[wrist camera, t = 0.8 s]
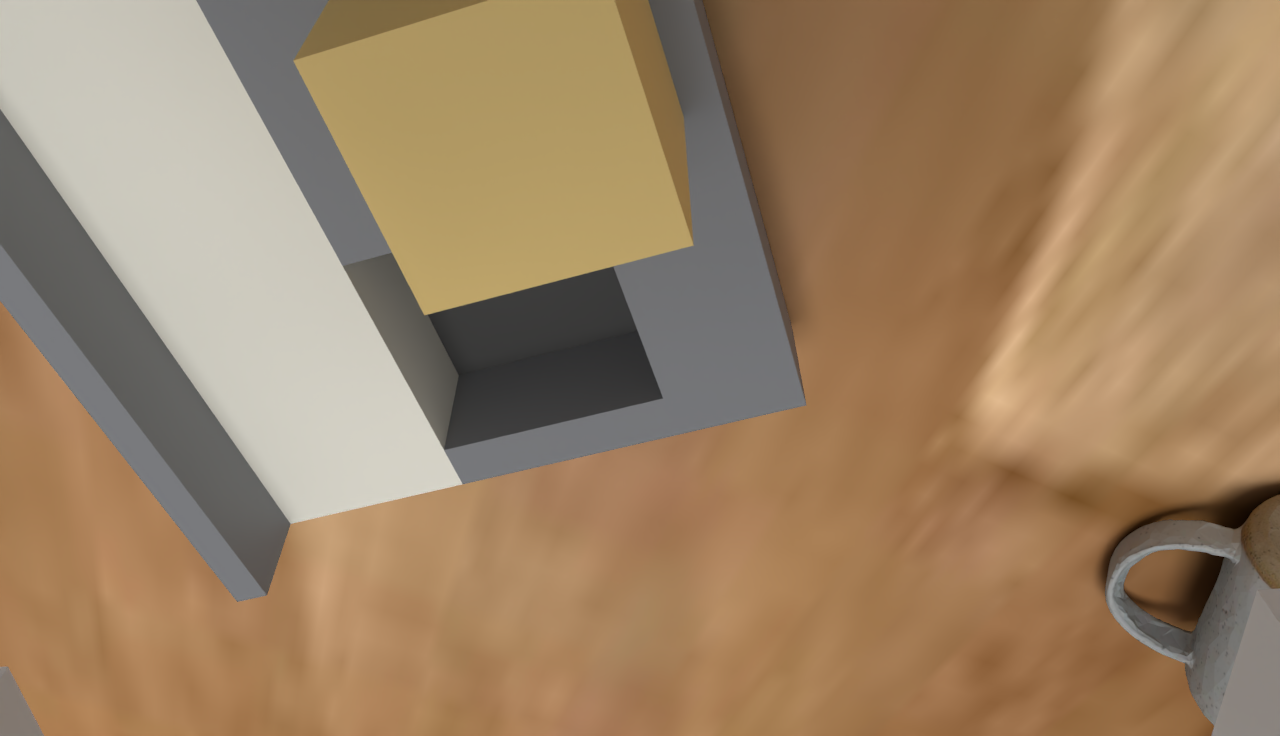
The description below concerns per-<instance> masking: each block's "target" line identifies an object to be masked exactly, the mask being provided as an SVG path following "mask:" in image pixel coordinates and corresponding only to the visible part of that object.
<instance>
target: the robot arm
mask: <svg viewBox="0 0 1280 736" xmlns="http://www.w3.org/2000/svg"><path fill="white" fill-rule="evenodd" d="M0 736H44V735H43V733H42V731H41V729H40V727H39V725H38V723H37V722H36V720H35V718H34V716H33V714H32V712H31V710H30V708H29V706H28V704H27V702H26V700H25V699H24V697H23V695H22V693H21V691H20V689H19V687H18V685H17V683H16V681H15V679H14V678H13V676H12V674H11V672H10V670H9V668H8V667H0ZM1212 736H1280V589H1264V590H1257V592H1256V595H1255V598H1254V602H1253V605H1252V608H1251V611H1250V614H1249V618H1248V621H1247V624H1246V627H1245V630H1244V633H1243V637H1242V640H1241V643H1240V646H1239V649H1238V653H1237V656H1236V659H1235V662H1234V665H1233V669H1232V672H1231V675H1230V678H1229V681H1228V685H1227V688H1226V691H1225V694H1224V697H1223V701H1222V704H1221V707H1220V710H1219V713H1218V716H1217V720H1216V723H1215V726H1214V729H1213V732H1212Z"/></svg>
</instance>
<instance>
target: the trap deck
mask: <svg viewBox="0 0 1280 736" xmlns="http://www.w3.org/2000/svg"><path fill="white" fill-rule="evenodd" d="M328 1H329V0H0V301H1V302H2V304H3V305H4V306H5V307H6V309H7V310H8V311H9V312H10V314H11V315H12V316H13V318H14V319H15V320H16V321H17V323H18V324H19V325H20V326H21V328H22V329H23V330H24V332H25V333H26V334H27V335H28V337H29V338H30V339H31V340H32V342H33V343H34V344H35V345H36V347H37V348H38V349H39V351H40V352H41V353H42V354H43V356H44V357H45V358H46V359H47V361H48V362H49V363H50V365H51V366H52V367H53V368H54V370H55V371H56V372H57V373H58V375H59V376H60V377H61V378H62V380H63V381H64V382H65V384H66V385H67V386H68V387H69V389H70V390H71V391H72V392H73V394H74V395H75V396H76V398H77V399H78V400H79V401H80V403H81V404H82V405H83V406H84V408H85V409H86V410H87V412H88V413H89V414H90V415H91V417H92V418H93V419H94V420H95V422H96V423H97V424H98V425H99V427H100V428H101V429H102V431H103V432H104V433H105V434H106V436H107V437H108V438H109V439H110V441H111V442H112V443H113V445H114V446H115V447H116V448H117V450H118V451H119V452H120V453H121V455H122V456H123V457H124V458H125V460H126V461H127V462H128V464H129V465H130V466H131V467H132V469H133V470H134V471H135V472H136V474H137V475H138V476H139V478H140V479H141V480H142V481H143V483H144V484H145V485H146V486H147V488H148V489H149V490H150V491H151V493H152V494H153V495H154V497H155V498H156V499H157V500H158V502H159V503H160V504H161V505H162V507H163V508H164V509H165V511H166V512H167V513H168V514H169V516H170V517H171V518H172V519H173V521H174V522H175V523H176V525H177V526H178V527H179V528H180V530H181V531H182V532H183V533H184V535H185V536H186V537H187V538H188V540H189V541H190V542H191V544H192V545H193V546H194V547H195V549H196V550H197V551H198V552H199V554H200V555H201V556H202V558H203V559H204V560H205V561H206V563H207V564H208V565H209V566H210V568H211V569H212V570H213V571H214V573H215V574H216V575H217V577H218V578H219V579H220V580H221V582H222V583H223V584H224V585H225V587H226V588H227V589H228V591H229V592H230V593H231V594H232V596H233V597H234V598H235V599H236V601H237V602H238V601H243V600H248V599H252V598H257V597H261V596H266V595H267V593H268V590H269V587H270V584H271V581H272V578H273V575H274V572H275V569H276V566H277V563H278V560H279V557H280V554H281V551H282V548H283V545H284V542H285V539H286V536H287V533H288V530H289V527H290V524H292V523H296V522H300V521H305V520H309V519H313V518H318V517H322V516H327V515H331V514H335V513H340V512H344V511H348V510H353V509H357V508H361V507H366V506H370V505H374V504H379V503H383V502H387V501H392V500H396V499H400V498H405V497H409V496H414V495H418V494H422V493H427V492H431V491H435V490H440V489H444V488H448V487H453V486H457V485H461V484H466V483H470V482H474V481H479V480H483V479H487V478H492V477H496V476H500V475H505V474H509V473H514V472H518V471H522V470H527V469H531V468H535V467H540V466H544V465H548V464H553V463H557V462H561V461H566V460H570V459H574V458H579V457H583V456H587V455H592V454H596V453H600V452H605V451H609V450H614V449H618V448H622V447H627V446H631V445H635V444H640V443H644V442H648V441H653V440H657V439H661V438H666V437H670V436H674V435H679V434H683V433H687V432H692V431H696V430H701V429H705V428H709V427H714V426H718V425H722V424H727V423H731V422H735V421H740V420H744V419H748V418H753V417H757V416H761V415H766V414H770V413H774V412H779V411H783V410H787V409H792V408H796V407H801V406H805V405H806V401H805V395H804V390H803V384H802V379H801V374H800V368H799V363H798V357H797V352H796V347H795V341H794V336H793V331H792V326H791V322H790V318H789V315H788V311H787V307H786V304H785V300H784V296H783V293H782V289H781V285H780V282H779V278H778V274H777V271H776V267H775V264H774V260H773V256H772V253H771V249H770V245H769V242H768V238H767V234H766V231H765V227H764V223H763V220H762V216H761V212H760V209H759V205H758V201H757V198H756V194H755V191H754V187H753V183H752V180H751V176H750V172H749V169H748V165H747V161H746V158H745V154H744V150H743V147H742V143H741V139H740V136H739V132H738V128H737V125H736V121H735V118H734V114H733V110H732V107H731V103H730V99H729V96H728V92H727V88H726V85H725V81H724V77H723V74H722V70H721V66H720V63H719V59H718V55H717V52H716V48H715V45H714V41H713V37H712V34H711V30H710V26H709V23H708V19H707V15H706V12H705V8H704V4H703V1H702V0H648V1H649V4H650V8H651V11H652V14H653V17H654V21H655V24H656V27H657V31H658V34H659V37H660V41H661V44H662V47H663V50H664V54H665V57H666V60H667V64H668V67H669V70H670V73H671V77H672V80H673V83H674V87H675V90H676V93H677V97H678V100H679V103H680V106H681V110H682V113H683V116H684V127H685V140H686V153H687V166H688V179H689V192H690V205H691V218H692V231H693V244H694V246H690V247H686V248H682V249H678V250H674V251H671V252H667V253H663V254H659V255H655V256H651V257H647V258H644V259H640V260H636V261H632V262H628V263H624V264H620V265H617V266H613V267H609V268H605V269H601V270H597V271H594V272H590V273H586V274H582V275H578V276H574V277H570V278H567V279H563V280H559V281H555V282H551V283H547V284H543V285H540V286H536V287H532V288H528V289H524V290H520V291H516V292H513V293H509V294H505V295H501V296H497V297H493V298H490V299H486V300H482V301H478V302H474V303H470V304H466V305H463V306H459V307H455V308H451V309H447V310H443V311H439V312H436V313H432V314H428V315H424V314H423V312H422V310H421V308H420V306H419V304H418V302H417V300H416V298H415V296H414V294H413V292H412V290H411V288H410V286H409V285H408V283H407V281H406V279H405V277H404V275H403V273H402V271H401V269H400V267H399V265H398V263H397V261H396V259H395V257H394V255H393V253H392V252H391V250H390V248H389V246H388V244H387V242H386V240H385V238H384V236H383V234H382V232H381V230H380V228H379V226H378V224H377V222H376V220H375V219H374V217H373V215H372V213H371V211H370V209H369V207H368V205H367V203H366V201H365V199H364V197H363V195H362V193H361V191H360V189H359V187H358V185H357V184H356V182H355V180H354V178H353V176H352V174H351V172H350V170H349V168H348V166H347V164H346V162H345V160H344V158H343V156H342V154H341V152H340V151H339V149H338V147H337V145H336V143H335V141H334V139H333V137H332V135H331V133H330V131H329V129H328V127H327V125H326V123H325V121H324V119H323V118H322V116H321V114H320V112H319V110H318V108H317V106H316V104H315V102H314V100H313V98H312V96H311V94H310V92H309V90H308V88H307V86H306V84H305V83H304V81H303V79H302V77H301V75H300V73H299V71H298V69H297V67H296V65H295V63H294V61H293V60H294V59H295V57H296V55H297V53H298V52H299V50H300V48H301V47H302V45H303V43H304V42H305V40H306V38H307V37H308V35H309V33H310V31H311V30H312V28H313V26H314V25H315V23H316V21H317V20H318V18H319V16H320V14H321V13H322V11H323V9H324V8H325V6H326V4H327V3H328Z"/></svg>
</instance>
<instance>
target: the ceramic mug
mask: <svg viewBox="0 0 1280 736" xmlns="http://www.w3.org/2000/svg"><path fill="white" fill-rule="evenodd" d="M1173 549H1182V550H1188V551H1198V552H1206V553H1209V554H1211V555H1216V556H1222V557H1225V558H1224V560H1223V563H1222V567H1221V571H1220V574H1219V576H1218V579H1217V581H1216V584H1215V586H1214V588H1213V590H1212V592H1211V594H1210V597H1209V598H1208V601H1207V603H1206V604H1205V607H1204V609H1203V611H1202V614H1201V616H1200V618H1199V619H1198V623H1197V625H1196V628H1195V630H1194V631H1192V632H1190V631H1186V630H1182V629H1180V628H1177V627H1175V626H1172V625H1170V624H1169V623H1166V622H1163V621H1161V620H1160V619H1157V618H1155V617H1153V616H1152V615H1150V614H1148V613H1147V612H1145V611H1144V610H1142V609H1141V608H1139V607H1138V606H1137V605H1136V604H1135V603H1134V602H1133V601H1132V600H1131V599H1130V598H1129V597H1128V595H1127V594H1126V593H1125V591H1124V581H1125V578H1126V575H1127V573H1128V571H1129V569H1130V567H1131V566H1133V565H1134V564H1136V563H1137V562H1138V561H1140V560H1141V559H1142V558H1144V557H1145V556H1146V555H1149V554H1150V553H1152V552H1156V551H1159V550H1173ZM1264 589H1280V495H1276V496H1274V497H1272V498H1270V499H1268V500H1266V501H1264V502H1263V503H1262V504H1260V505H1259V506H1258V507H1256V508H1255V509H1254V510H1253V511H1252V513H1251V514H1250V516H1249V517H1248V519H1247V520H1246V522H1245V523H1244V524H1243V525H1242V526H1241V527H1239V528H1237V529H1232V528H1228V527H1224V526H1221V525H1218V524H1214V523H1210V522H1206V521H1202V520H1190V521H1187V520H1171V519H1170V520H1163V521H1158V522H1154V523H1151V524H1149V525H1144V526H1142V527H1140V528H1138V529H1137V530H1135V531H1133V532H1132V533H1130V534H1129V535H1128V536H1126V537H1125V538H1124V539H1123V540H1122V541H1121V542H1120V543H1119V544H1118V546H1117V547H1116V549H1115V551H1114V553H1113V555H1112V557H1111V559H1110V563H1109V569H1108V575H1107V581H1106V588H1105V596H1106V602H1107V605H1108V607H1109V610H1110V612H1111V613H1112V615H1113V616H1114V618H1115V619H1116V620H1117V621H1118V623H1119V624H1120V625H1121V626H1122V627H1123V628H1124V629H1125V630H1126V631H1127V632H1128V633H1130V634H1131V635H1132V636H1133V637H1135V638H1136V639H1137V640H1138V641H1140V642H1142V643H1143V644H1145V645H1147V646H1148V647H1150V648H1152V649H1153V650H1155V651H1157V652H1159V653H1161V654H1163V655H1165V656H1168V657H1170V658H1173V659H1175V660H1178V661H1180V662H1183V663H1185V671H1186V676H1187V680H1188V684H1189V688H1190V691H1191V694H1192V696H1193V698H1194V699H1195V701H1196V703H1197V704H1198V706H1199V708H1200V709H1201V711H1202V712H1203V714H1204V715H1205V716H1206V717H1207V718H1208V720H1209V721H1210V722H1211V723H1212V724H1213V725H1214V726H1215V723H1216V720H1217V716H1218V713H1219V710H1220V707H1221V704H1222V701H1223V697H1224V694H1225V691H1226V688H1227V685H1228V681H1229V678H1230V675H1231V672H1232V669H1233V665H1234V662H1235V659H1236V656H1237V653H1238V649H1239V646H1240V643H1241V640H1242V637H1243V633H1244V630H1245V627H1246V624H1247V621H1248V618H1249V614H1250V611H1251V608H1252V605H1253V602H1254V598H1255V595H1256V592H1257V590H1264Z"/></svg>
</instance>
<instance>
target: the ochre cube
mask: <svg viewBox="0 0 1280 736" xmlns="http://www.w3.org/2000/svg"><path fill="white" fill-rule="evenodd" d="M293 61H294V63H295V65H296V67H297V69H298V71H299V73H300V75H301V77H302V79H303V81H304V83H305V84H306V86H307V88H308V90H309V92H310V94H311V96H312V98H313V100H314V102H315V104H316V106H317V108H318V110H319V112H320V114H321V116H322V118H323V119H324V121H325V123H326V125H327V127H328V129H329V131H330V133H331V135H332V137H333V139H334V141H335V143H336V145H337V147H338V149H339V151H340V152H341V154H342V156H343V158H344V160H345V162H346V164H347V166H348V168H349V170H350V172H351V174H352V176H353V178H354V180H355V182H356V184H357V185H358V187H359V189H360V191H361V193H362V195H363V197H364V199H365V201H366V203H367V205H368V207H369V209H370V211H371V213H372V215H373V217H374V219H375V220H376V222H377V224H378V226H379V228H380V230H381V232H382V234H383V236H384V238H385V240H386V242H387V244H388V246H389V248H390V250H391V252H392V253H393V255H394V257H395V259H396V261H397V263H398V265H399V267H400V269H401V271H402V273H403V275H404V277H405V279H406V281H407V283H408V285H409V286H410V288H411V290H412V292H413V294H414V296H415V298H416V300H417V302H418V304H419V306H420V308H421V310H422V312H423V314H424V315H428V314H432V313H436V312H439V311H443V310H447V309H451V308H455V307H459V306H463V305H466V304H470V303H474V302H478V301H482V300H486V299H490V298H493V297H497V296H501V295H505V294H509V293H513V292H516V291H520V290H524V289H528V288H532V287H536V286H540V285H543V284H547V283H551V282H555V281H559V280H563V279H567V278H570V277H574V276H578V275H582V274H586V273H590V272H594V271H597V270H601V269H605V268H609V267H613V266H617V265H620V264H624V263H628V262H632V261H636V260H640V259H644V258H647V257H651V256H655V255H659V254H663V253H667V252H671V251H674V250H678V249H682V248H686V247H690V246H694V244H693V231H692V218H691V205H690V192H689V179H688V166H687V153H686V140H685V127H684V116H683V113H682V110H681V106H680V103H679V100H678V97H677V93H676V90H675V87H674V83H673V80H672V77H671V73H670V70H669V67H668V64H667V60H666V57H665V54H664V50H663V47H662V44H661V41H660V37H659V34H658V31H657V27H656V24H655V21H654V17H653V14H652V11H651V8H650V4H649V1H648V0H329V1H328V3H327V4H326V6H325V8H324V9H323V11H322V13H321V14H320V16H319V18H318V20H317V21H316V23H315V25H314V26H313V28H312V30H311V31H310V33H309V35H308V37H307V38H306V40H305V42H304V43H303V45H302V47H301V48H300V50H299V52H298V53H297V55H296V57H295V59H294V60H293Z"/></svg>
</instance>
